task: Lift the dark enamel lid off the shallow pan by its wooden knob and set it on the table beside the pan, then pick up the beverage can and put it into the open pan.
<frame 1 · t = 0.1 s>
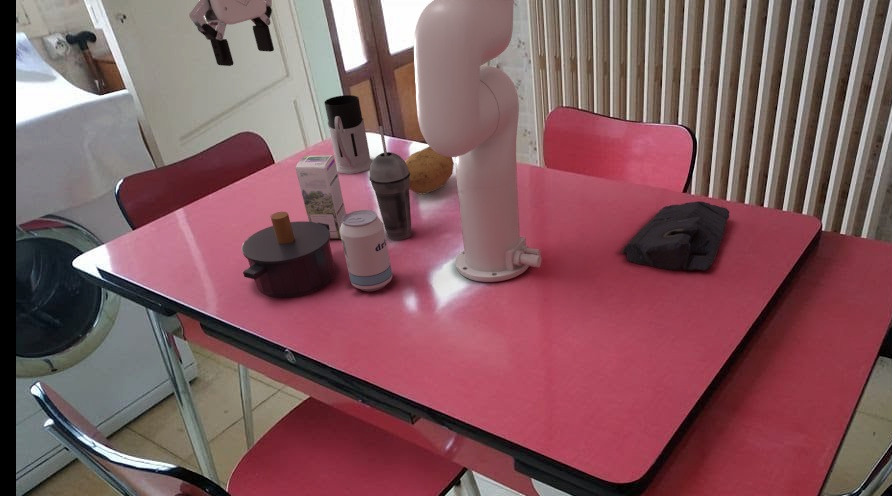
hand: (246, 57, 117), 31 cm above the table, tool pointing down, fingers open, 9 cm apart
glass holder: (352, 171, 158), on the table
beverage cup: (399, 235, 129), on the table
potato: (428, 191, 146), on the table
syrup box: (331, 234, 132), on the table
black folded cloth: (681, 241, 120), on the table
beverage can: (373, 284, 115), on the table
lid: (286, 242, 114), point 7 cm above the table, touching pan
pan: (296, 277, 118), on the table
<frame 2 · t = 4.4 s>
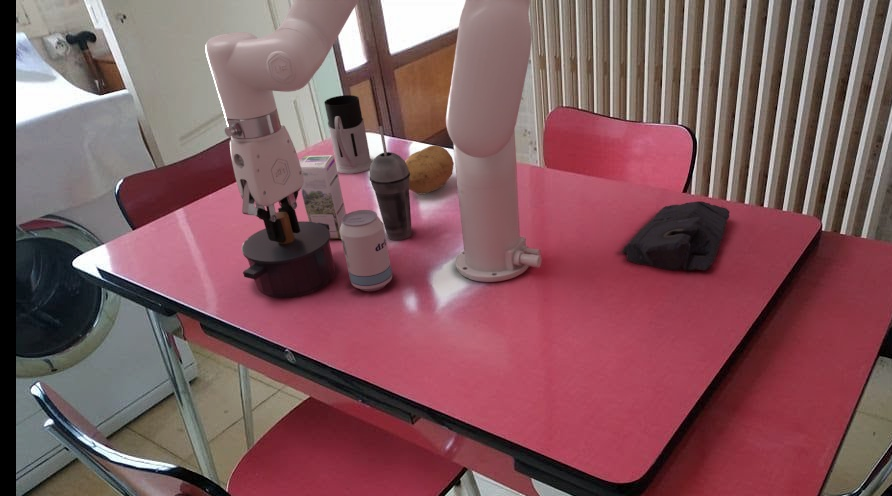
hand: (284, 235, 114), 8 cm above the table, tool pointing down, fingers closed on lid, 2 cm apart
lid: (286, 242, 114), point 7 cm above the table, touching gripper, pan
everything else where it was.
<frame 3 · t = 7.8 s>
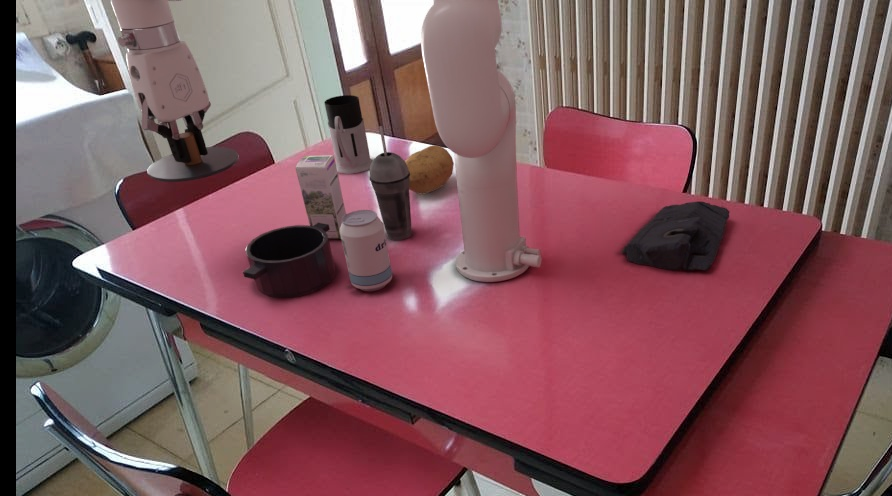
hand: (191, 156, 113), 20 cm above the table, tool pointing down, fingers closed on lid, 2 cm apart
lid: (194, 165, 114), point 18 cm above the table, touching gripper
everything else where it was.
when the fingers open (2 cm above the table, at t = 11.7 s): lid stays where it is, point 1 cm above the table.
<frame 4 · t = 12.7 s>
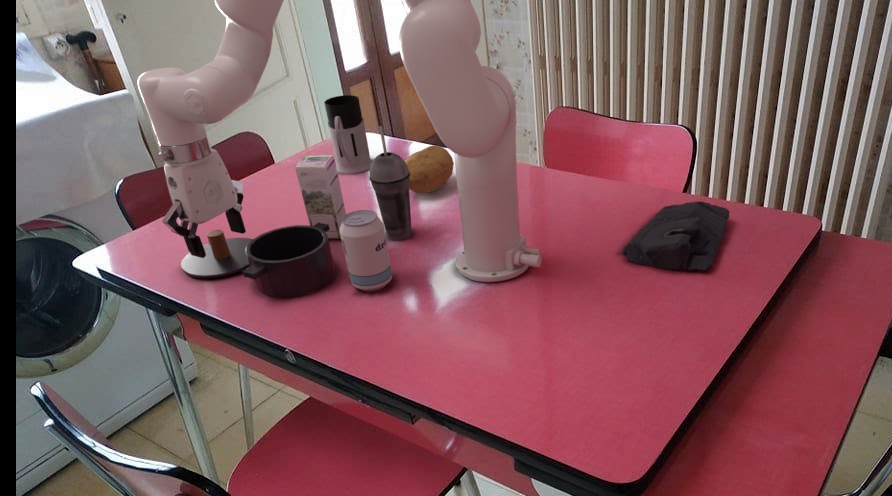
hand: (219, 243, 123), 4 cm above the table, tool pointing down, fingers open, 9 cm apart
lid: (223, 258, 125), point 1 cm above the table
everything else where it was.
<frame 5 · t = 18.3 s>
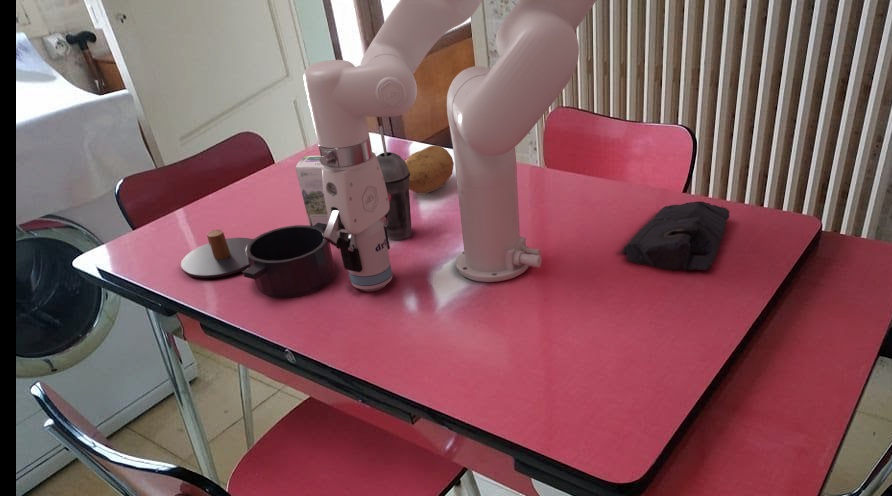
hand: (367, 258, 112), 5 cm above the table, tool pointing down, fingers closed on beverage can, 7 cm apart
beverage can: (373, 284, 115), on the table, touching gripper
everything else where it was.
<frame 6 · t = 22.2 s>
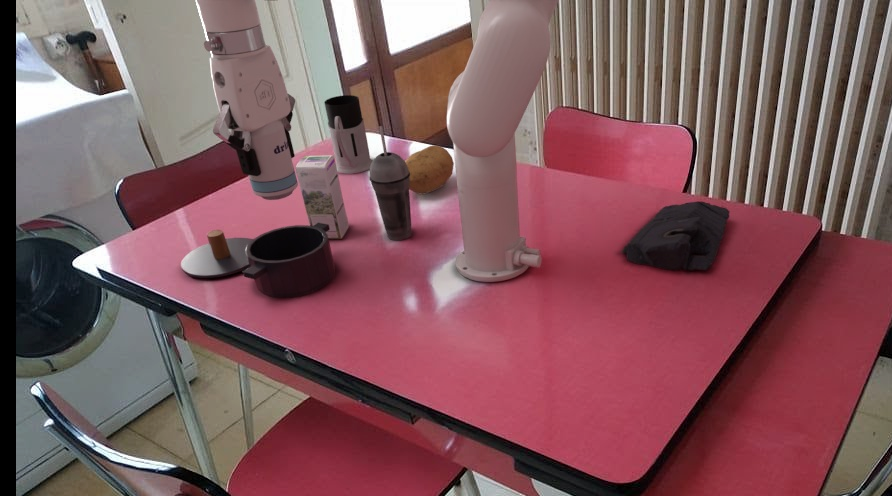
hand: (269, 164, 106), 20 cm above the table, tool pointing down, fingers closed on beverage can, 7 cm apart
beverage can: (277, 194, 109), point 15 cm above the table, touching gripper
everything else where it was.
when the fingers open (5 cm above the table, at t = 26.0 s): beverage can stays where it is, resting on pan.
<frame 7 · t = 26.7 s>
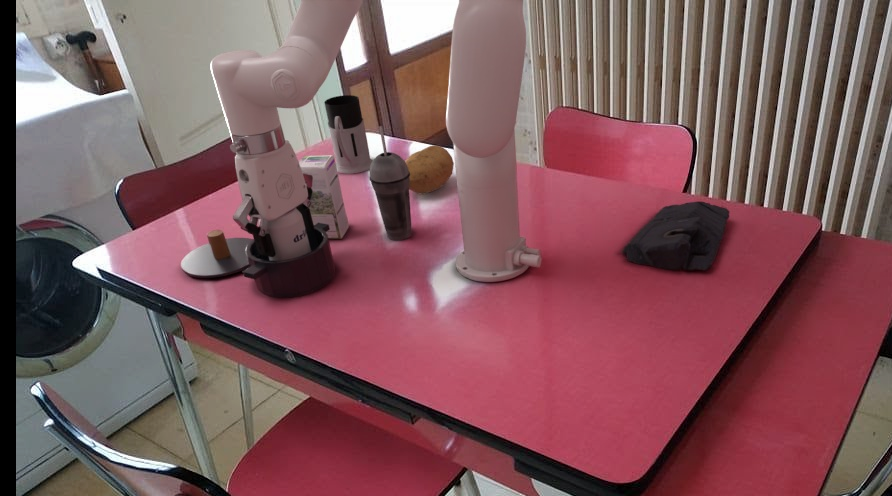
hand: (287, 242, 114), 7 cm above the table, tool pointing down, fingers open, 9 cm apart
beverage can: (296, 275, 118), resting on pan
everything else where it was.
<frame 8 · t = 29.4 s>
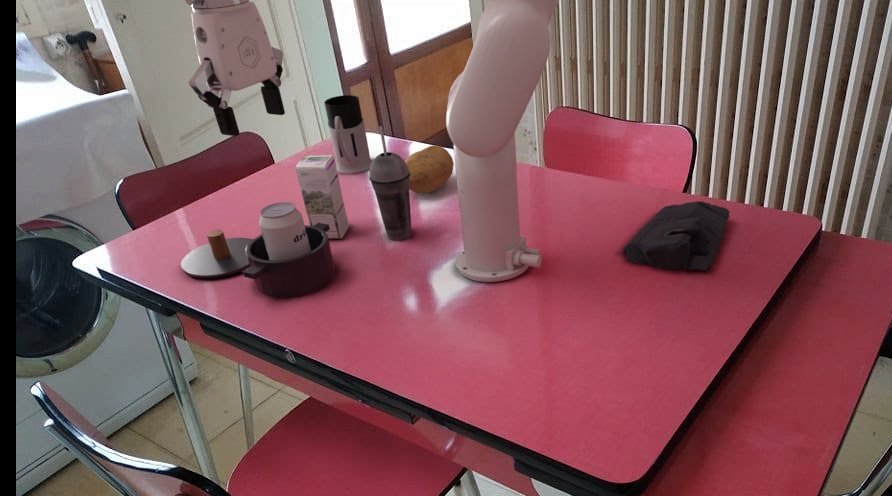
hand: (254, 124, 103), 26 cm above the table, tool pointing down, fingers open, 9 cm apart
nothing on the table moved.
at the end: lid inside the target area (0.1 cm from its centre), point 0.6 cm above the table; beverage can inside the target area in the pan (0.0 cm from its centre), point 0.4 cm above the pan's base; beverage can tilted 0° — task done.
